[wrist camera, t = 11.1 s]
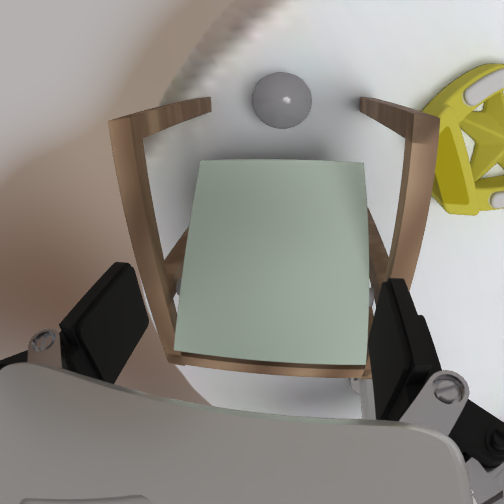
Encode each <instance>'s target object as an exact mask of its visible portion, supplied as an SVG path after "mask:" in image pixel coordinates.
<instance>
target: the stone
mask: <svg viewBox="0 0 504 504" xmlns="http://www.w3.org/2000/svg"><path fill="white" fill-rule="evenodd" d="M311 103H312V98H311V92H310V89H309V87H308V85H307V84H306V83H305V82H304V81H303V80H302V79H301V78H299V77H297V76H295V75H293V74H289V73H284V72H278V73H273V74H270V75H267V76H266V77H264V78H263V79H261V80H260V81H259V82H258V84H257V85H256V87H255V89H254V91H253V95H252V104H253V108H254V111H255V113H256V115H257V116H258V117H259V118H260V119H261V121H263V122H264V123H265V124H267V125H269V126H271V127H274V128H279V129H286V128H291V127H294V126H296V125H298V124H300V123H301V122H302V121H303V120H304V119H305V118H306V117H307V115H308V114H309V112H310V109H311Z"/></svg>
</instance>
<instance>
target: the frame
mask: <svg viewBox="0 0 504 504" xmlns="http://www.w3.org/2000/svg"><path fill="white" fill-rule="evenodd" d="M208 112H211V99H210V97H206V98H196V99H191V100H186V101H181V102H177V103H173V104H168V105H164V106H160V107H156V108H152V109H148V110H144V111H141V112H137V113H134V114H130V115H126V116H123V117H120V118H116V119H113V120H110V121H108V125H109V132H110V138H111V145H112V151H113V157H114V163H115V168H116V174H117V179H118V184H119V189H120V194H121V199H122V204H123V208H124V213H125V217H126V222H127V226H128V230H129V234H130V238H131V242H132V246H133V250H134V254H135V258H136V261H137V265H138V269H139V273H140V276H141V280H142V283H143V287H144V290H145V293H146V297H147V300H148V303H149V306H150V310H151V313H152V316H153V319H154V322H155V325H156V328H157V331H158V334H159V337H160V340H161V343H162V346H163V349H164V351H165V354H166V357H167V359H168V362H169V363H171V364H177V365H183V366H185V365H192V366H198V367H205V368H213V369H221V370H229V371H238V372H248V373H258V374H270V375H284V376H301V377H325V378H361V379H372V373H371V365H370V357H369V349H368V340H367V356H366V365H334V364H306V363H288V362H273V361H260V360H249V359H239V358H229V357H220V356H212V355H204V354H196V353H189V352H182V351H176V350H174V342H175V332H176V322H177V312H176V308H175V304H174V300H173V297H174V296H175V294H176V292H177V291H176V285H177V281H178V279H179V278H182V272H183V265H184V258H185V251H186V244H187V237H188V231H189V227H188V228H187V230H186V231H185V232H184V234H183V235H182V236H181V238H180V239H179V241H178V242H177V243H176V245H175V246H174V248H173V249H172V250H171V252H170V253H169V255H168V256H167V258H166V259H165V260H164V257H163V253H162V248H161V243H160V239H159V234H158V229H157V224H156V218H155V213H154V208H153V202H152V197H151V191H150V185H149V179H148V173H147V167H146V160H145V153H144V146H143V138H145V137H148V136H150V135H152V134H154V133H157V132H159V131H162V130H164V129H166V128H169V127H171V126H174V125H176V124H179V123H181V122H184V121H186V120H189V119H192V118H194V117H197V116H200V115H202V114H205V113H208ZM360 112H361V113H363V114H365V115H367V116H369V117H370V118H372V119H374V120H376V121H377V122H379V123H381V124H383V125H384V126H386V127H388V128H389V129H391V130H393V131H394V132H396V133H398V134H399V135H401V136H402V137H404V138H406V139H405V151H404V162H403V171H402V180H401V188H400V196H399V203H398V209H397V216H396V222H395V228H394V234H393V239H392V245H391V250H390V255H389V257H388V255H387V252H386V249H385V247H384V244H383V242H382V239H381V237H380V234H379V232H378V230H377V227H376V225H375V222H374V220H373V218H372V215H371V213H370V211H369V209H368V208H367V214H368V236H369V278H370V282H371V287H372V288H373V290H374V299H375V304H376V307H377V303H378V298H379V294H380V289H381V285H382V282H387V280H388V278H403V279H404V280H405V282H406V285H407V287H408V290H410V287H411V283H412V280H413V276H414V272H415V269H416V265H417V261H418V257H419V253H420V248H421V244H422V240H423V235H424V231H425V226H426V221H427V216H428V211H429V205H430V199H431V194H432V187H433V181H434V174H435V167H436V159H437V150H438V140H439V129H440V118H439V117H436V116H433V115H430V114H427V113H424V112H421V111H418V110H414V109H411V108H408V107H405V106H401V105H398V104H394V103H391V102H387V101H383V100H379V99H375V98H366V97H360ZM373 319H374V315H373V310H372V306H369V317H368V339H369V334H370V330H371V327H372V323H373Z"/></svg>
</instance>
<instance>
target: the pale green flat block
mask: <svg viewBox="0 0 504 504" xmlns="http://www.w3.org/2000/svg"><path fill="white" fill-rule="evenodd" d="M176 291H177V294H178V295H179V304H178V313H177V322H176V332H175V342H174V350H176V351H182V352H189V353H196V354H204V355H212V356H220V357H229V358H239V359H249V360H260V361H273V362H288V363H306V364H334V365H366V356H367V340H368V317H369V306H372V305H373V301H374V290H373V288H369V236H368V214H367V198H366V184H365V173H364V163H358V162H342V161H322V160H288V159H236V160H202V161H200V166H199V172H198V177H197V183H196V188H195V194H194V200H193V206H192V212H191V218H190V224H189V231H188V237H187V244H186V251H185V258H184V265H183V272H182V278H179V279H178V281H177V285H176Z"/></svg>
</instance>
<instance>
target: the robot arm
mask: <svg viewBox="0 0 504 504" xmlns="http://www.w3.org/2000/svg"><path fill="white" fill-rule="evenodd" d="M148 324H149V319H148V315H147V312H146V308H145V305H144V302H143V299H142V295H141V292H140V288H139V284H138V281H137V277H136V274H135V270H134V268H133V267H131V265H130V264H129V263H123V262H115V263H114V264H113V265H112V266H111V267H110V268H109V269H108V270H107V271H106V272H105V273H104V274H103V276H102V277H101V278H100V279H99V280H98V281H97V282H96V283H95V284H94V285H93V286H92V288H91V289H90V290H89V291H88V292H87V293H86V294H85V295H84V296H83V297H82V299H81V300H80V301H79V302H78V303H77V304H76V306H75V307H74V308H73V309H72V310H71V311H70V312H69V314H68V315H67V316H66V317H65V318H64V319H63V321H62V322H61V323H60V324H59V326H60V328H61V332H60V333H59V332H58V331H57V330H56V329H53V328H46V329H43V330H41V331H39V332H37V333H36V334H34V335H33V336H32V338H31V339H30V341H29V344H28V350H27V351H24V352H21V353H19V354H16V355H13V356H11V357H8V358H5V359H3V360H0V504H473V498H472V496H473V497H474V498H475V500H476V502H477V504H504V422H502V421H501V420H499V419H498V418H496V417H495V416H493V415H492V414H490V413H489V412H487V411H486V410H484V409H482V408H481V407H479V406H478V405H476V404H475V403H473V402H472V401H470V400H469V399H468V397H469V387H468V384H467V382H466V381H465V380H464V378H463V377H462V376H460V375H459V374H458V373H455V372H453V371H448V370H443V371H442V369H441V366H440V362H439V359H438V356H437V353H436V350H435V347H434V344H433V341H432V338H431V335H430V332H429V329H428V326H427V323H426V320H425V318H424V316H422V315H418V314H417V312H416V309H415V306H414V303H413V301H412V298H411V295H410V292H409V290H408V287H407V285H406V282H405V280H404V279H403V278H388V280H387V282H382V285H381V289H380V294H379V298H378V303H377V307H376V311H375V315H374V319H373V323H372V327H371V330H370V334H369V339H368V349H369V357H370V365H371V373H372V379H361V378H351V386H352V389H353V390H354V391H355V392H356V393H358V394H360V395H361V411H362V419H335V418H316V417H300V416H286V415H275V414H265V413H256V412H248V411H241V410H233V409H227V408H220V407H214V406H208V405H202V404H197V403H191V402H186V401H181V400H176V399H171V398H167V397H162V396H158V395H154V394H149V393H145V392H141V391H137V390H133V389H129V388H126V387H122V386H118V385H114V383H115V381H116V379H117V378H118V376H119V374H120V373H121V371H122V369H123V367H124V366H125V364H126V362H127V360H128V359H129V357H130V355H131V354H132V352H133V350H134V348H135V347H136V345H137V344H138V342H139V340H140V339H141V337H142V335H143V334H144V332H145V330H146V328H147V327H148ZM471 489H472V490H473V491H474V493H473V494H472V491H471Z"/></svg>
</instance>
